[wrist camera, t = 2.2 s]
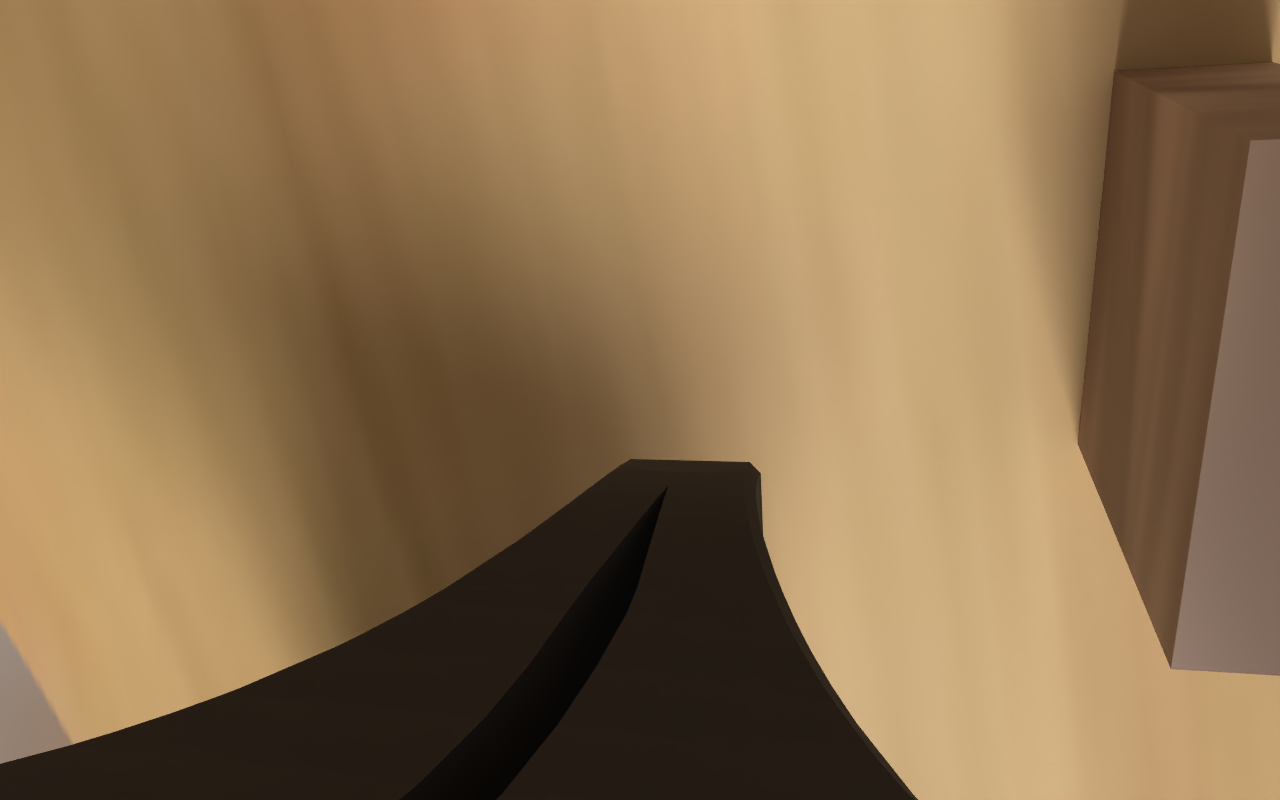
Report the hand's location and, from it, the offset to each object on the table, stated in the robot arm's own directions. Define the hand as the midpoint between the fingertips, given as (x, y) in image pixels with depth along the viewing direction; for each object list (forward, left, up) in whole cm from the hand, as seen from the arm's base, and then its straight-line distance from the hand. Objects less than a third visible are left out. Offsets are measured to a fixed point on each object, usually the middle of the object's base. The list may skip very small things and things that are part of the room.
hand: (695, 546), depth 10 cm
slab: (+7, 0, -11) cm, 13 cm away
